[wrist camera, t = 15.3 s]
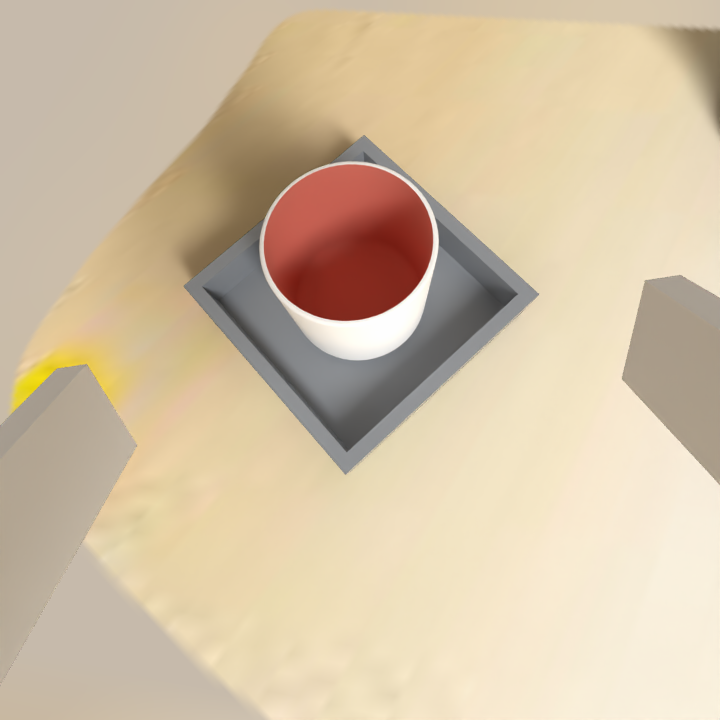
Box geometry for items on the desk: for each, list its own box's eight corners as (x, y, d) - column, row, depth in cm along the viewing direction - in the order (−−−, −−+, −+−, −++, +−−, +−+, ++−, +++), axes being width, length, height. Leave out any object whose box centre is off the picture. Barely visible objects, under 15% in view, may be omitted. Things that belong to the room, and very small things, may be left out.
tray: (521, 312, 33) (539, 294, 29) (350, 471, 31) (345, 474, 27) (366, 168, 37) (364, 134, 33) (206, 304, 35) (183, 286, 31)
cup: (270, 313, 33) (222, 257, 24) (349, 220, 35) (333, 130, 25) (370, 390, 32) (362, 363, 22) (449, 289, 33) (475, 221, 23)
